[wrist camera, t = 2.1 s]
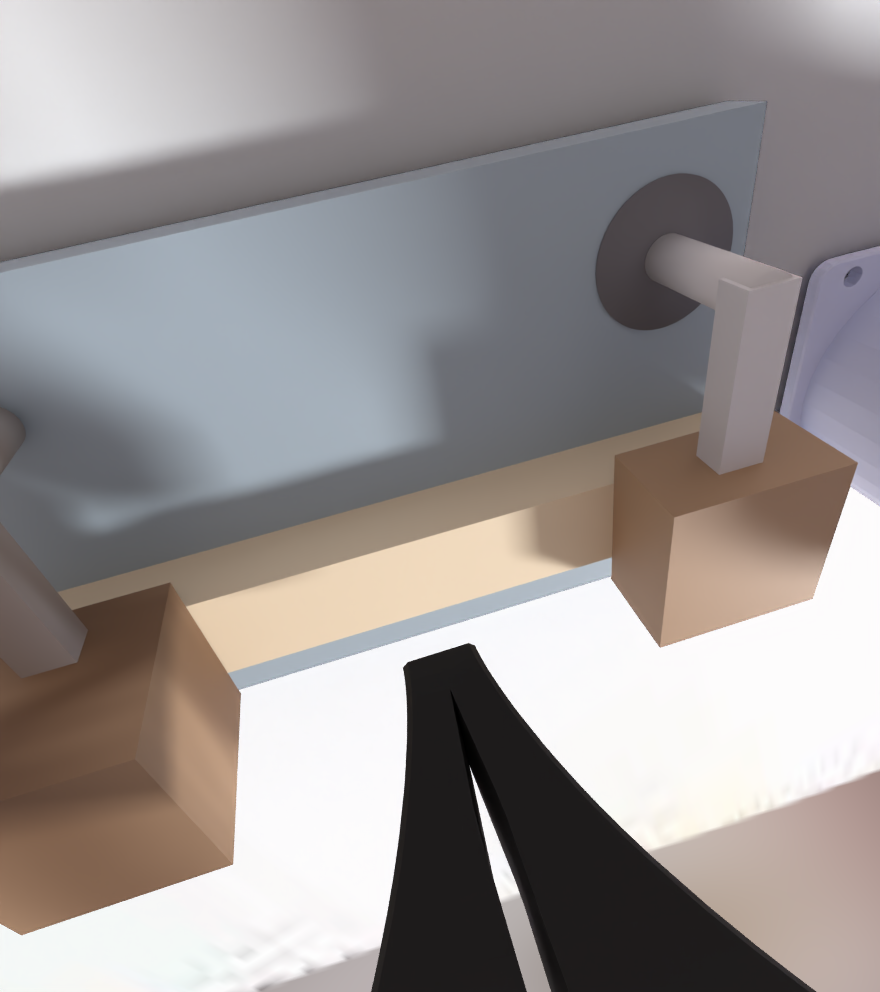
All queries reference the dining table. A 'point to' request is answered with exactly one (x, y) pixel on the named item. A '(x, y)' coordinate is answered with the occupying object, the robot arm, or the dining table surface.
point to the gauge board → (426, 401)
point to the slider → (105, 743)
